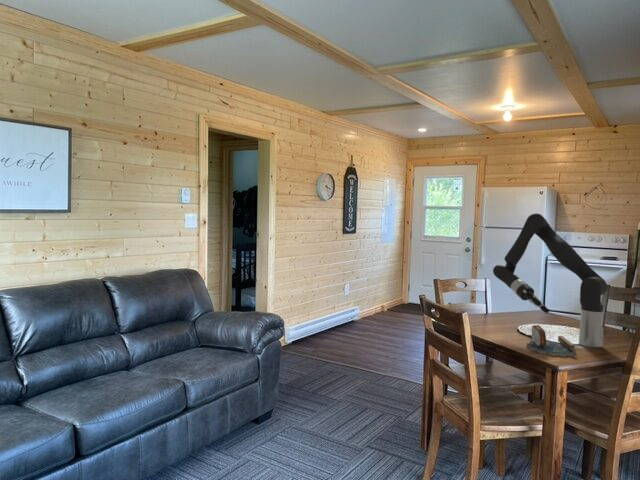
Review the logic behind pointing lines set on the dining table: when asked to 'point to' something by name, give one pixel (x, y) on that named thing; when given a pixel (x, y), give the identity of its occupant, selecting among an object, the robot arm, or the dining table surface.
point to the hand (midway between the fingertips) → (543, 308)
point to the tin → (538, 336)
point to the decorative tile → (551, 349)
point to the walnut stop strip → (566, 343)
